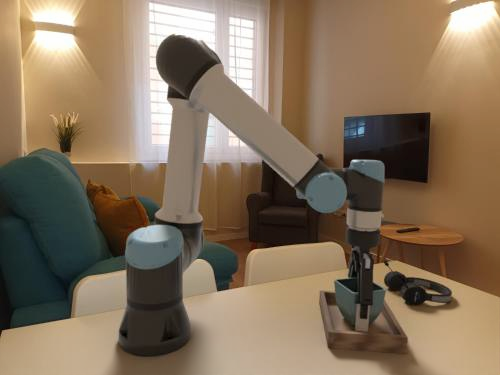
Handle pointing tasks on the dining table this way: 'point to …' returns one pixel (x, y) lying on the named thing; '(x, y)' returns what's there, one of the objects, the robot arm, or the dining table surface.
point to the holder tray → (376, 339)
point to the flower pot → (356, 299)
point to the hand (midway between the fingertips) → (357, 319)
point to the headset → (416, 288)
